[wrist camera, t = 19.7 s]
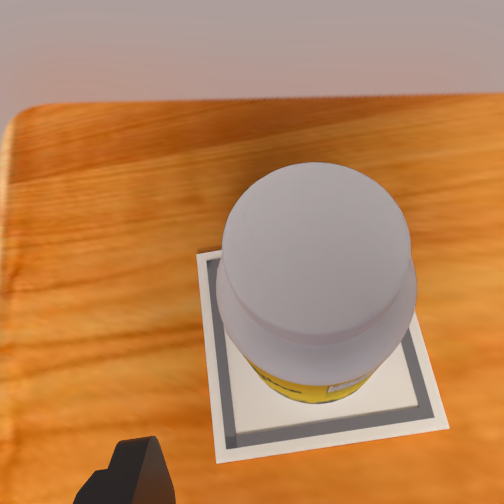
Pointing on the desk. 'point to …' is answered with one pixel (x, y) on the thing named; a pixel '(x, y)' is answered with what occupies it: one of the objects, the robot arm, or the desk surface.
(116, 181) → the desk surface
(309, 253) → the pill bottle
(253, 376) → the card
